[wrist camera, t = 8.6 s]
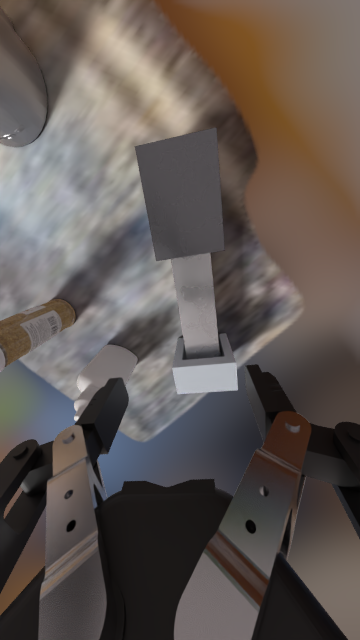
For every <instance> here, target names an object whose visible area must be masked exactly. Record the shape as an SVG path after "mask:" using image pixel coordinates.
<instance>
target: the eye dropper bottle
mask: <svg viewBox="0 0 360 640" xmlns="http://www.w3.org/2000/svg"><path fill="white" fill-rule="evenodd" d="M137 361H138V359H137V357H136V356H135V355H134V354H133V353H132V352H131V351H129V350H127V349H125V348H123V347H120V346H117V345H105V346H104V347H103V348H102V349H101V350H100V352H99V353H98V354H97V355H96V356H95V357H94V358H93V359H92V360H91V361H90V363H89V364H88V365H87V366H86V367H85V368H84V369H83V371H82V372H81V373H80V374H79V377H78V380H77V386H78V388H79V389H80V391H81V392H82V394H81V395H80V396H79V397H78V399H77V400H76V401H75V403H74V407H75V410H76V411H77V413H76V415H75V417H74V420H75V421H77V420H78V419H79V417H80V416H81V414H82V413H83V411H84V410H85V408H86V406H88V403H89V402H90V400H91V399H92V397H93V396H94V394H95V393H96V392H97V391H98V390H99V389H100V388H101V387H104V386H105V384H106V383H107V381H108V380H109V379H110V378H118V377H121V378H122V379H123V381H124V384H125V386H126V384H127V382H128V380H129V378H130V376H131V374H132V372H133V370H134V368H135V366H136V364H137Z"/></svg>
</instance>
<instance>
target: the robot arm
mask: <svg viewBox="0 0 360 640" xmlns="http://www.w3.org/2000/svg"><path fill="white" fill-rule="evenodd" d="M46 114H47V93H46V87H45V82H44V79H43V76H42V72H41V70H40V68H39V66H38V63H37V61H36V59H35V58H34V56H33V54H32V53H31V51H30V50H29V48H28V47H27V46H26V45H25V43H24V42H23V41H22V40H21V39H20V37H19V36H18V35H17V34H16V33H15V31H14V28H13V25H12V22H11V19H10V18H9V17H8V15H7V14H6V13H5V12H4V11H3V9H2V8H1V7H0V143H1V144H3V145H6V146H11V147H22V146H25V145H27V144H30V143H31V142H32V141H33V140H35V139H36V138H37V136H38V135H39V133H40V132H41V131H42V128H43V125H44V123H45V119H46ZM245 383H246V391H247V395H248V398H249V401H250V404H251V407H252V409H253V413H254V415H255V418H256V421H257V424H258V427H259V430H260V433H261V436H262V438H263V441H264V444H263V446H262V448H261V449H257V450H256V451H255V453H254V455H253V457H252V459H251V461H250V463H249V465H248V467H247V469H246V471H245V473H244V476H243V478H242V480H241V482H240V484H239V486H238V488H237V490H236V492H235V494H234V497H233V496H232V495H230V494H229V493H227V492H225V491H223V490H221V489H218V488H215V482H214V479H202V480H201V479H200V480H189V481H186V482H183V483H180V484H177V485H174V486H171V487H163V486H160V485H157V484H153V483H150V482H147V481H127V482H126V481H125V482H124V484H123V487H122V491H119V492H117V493H115V494H113V495H112V496H110V497H108V498H107V495H106V491H105V487H104V483H103V479H102V475H101V470H100V467H99V463H98V460H97V459H98V457H99V455H100V454H108V452H109V450H110V447H111V445H112V442H113V440H114V438H115V435H116V433H117V430H118V428H119V425H120V423H121V420H122V418H123V416H124V413H125V411H126V408H127V406H128V401H129V397H128V393H127V390H126V387H125V384H124V381H123V379H122V378H121V377H118V378H110V379H109V380H108V381H107V383H106V384H105V386H104V387H101V388H100V389H99V390H98V391H97V392H96V393H95V394H94V396H93V397H92V399H91V400H90V402H89V403H88V406H86V408H85V410H84V411H83V413H82V414H81V416H80V417H79V419H78V420H77V422H76V423H75V425H73V426H70V427H68V428H66V429H65V430H63V431H62V432H60V433H59V434H58V435H57V437H56V438H55V440H54V441H51V442H48V443H46V444H43V445H40V446H39V444H38V443H37V441H36V440H33V439H31V440H27V441H24V442H22V443H21V444H19V445H17V446H16V447H15V448H14V449H12V450H11V451H10V452H9V453H8V455H7V456H6V457H5V458H4V459H3V461H2V462H1V463H0V593H1V591H2V589H3V587H4V585H5V583H6V582H7V580H8V578H9V576H10V574H11V572H12V570H13V568H14V566H15V564H16V562H17V561H18V558H19V557H20V555H21V553H22V551H23V549H24V547H25V545H26V543H27V541H28V539H29V537H30V535H31V534H32V532H33V530H34V528H35V526H36V524H37V522H38V520H39V518H40V516H41V514H42V512H43V510H44V509H45V506H46V505H47V512H46V513H47V514H46V517H47V518H46V563H45V564H46V565H45V566H44V567H43V568H42V570H41V571H40V572H39V573H38V574H37V575H36V576H35V577H34V578H33V580H32V581H31V582H30V583H29V584H28V585H27V586H26V587H25V589H24V590H23V591H22V592H21V593H20V594H19V595H18V597H17V598H16V599H15V600H14V601H13V602H12V603H11V604H10V606H8V608H7V609H6V610H5V611H4V612H3V613H2V614H1V615H0V640H348V639H347V638H346V636H345V635H344V634H343V632H342V631H341V630H340V629H339V628H338V626H337V625H336V624H335V622H334V621H333V620H332V618H331V617H330V616H329V615H328V613H327V612H326V611H325V609H324V608H323V607H322V606H321V604H320V603H319V602H318V601H317V599H316V598H315V597H314V595H313V594H312V593H311V591H310V590H309V589H308V588H307V586H306V585H305V584H304V582H303V581H302V580H301V579H300V577H299V576H298V575H297V574H296V572H295V571H294V570H293V568H292V567H291V566H290V565H289V563H288V562H287V559H288V555H289V551H290V546H291V542H292V537H293V533H294V528H295V521H296V517H297V512H298V507H299V503H300V499H301V495H302V491H303V487H304V482H305V478H306V476H308V477H311V478H315V479H318V480H322V481H325V482H328V483H331V484H332V486H333V488H334V490H335V492H336V494H337V496H338V497H339V499H340V501H341V503H342V505H343V507H344V509H345V511H346V513H347V515H348V517H349V519H350V521H351V523H352V525H353V527H354V529H355V531H356V533H357V535H358V536H359V539H360V425H358V424H356V423H351V422H341V423H338V424H337V425H336V426H335V429H332V428H327V427H322V426H317V425H314V424H311V423H309V422H308V420H307V419H306V418H305V417H303V416H302V415H300V414H298V413H297V412H296V411H295V409H294V408H293V406H292V404H291V403H290V401H289V399H288V397H287V396H286V394H285V392H284V391H283V389H282V388H281V386H280V385H279V382H278V381H277V379H276V378H275V377H274V376H273V375H272V374H270V373H269V372H262V371H261V370H260V368H259V366H258V365H257V364H256V365H247V366H246V365H245ZM19 487H21V488H22V489H23V491H22V493H21V494H20V496H19V497H18V499H17V501H16V502H15V503H14V505H13V507H12V508H11V510H10V511H9V513H8V514H7V516H6V518H5V519H4V517H3V516H4V511H5V508H6V506H7V504H8V503H9V502H10V500H11V499H12V497H13V496H14V494H15V493H16V491H17V490H18V488H19Z"/></svg>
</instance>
